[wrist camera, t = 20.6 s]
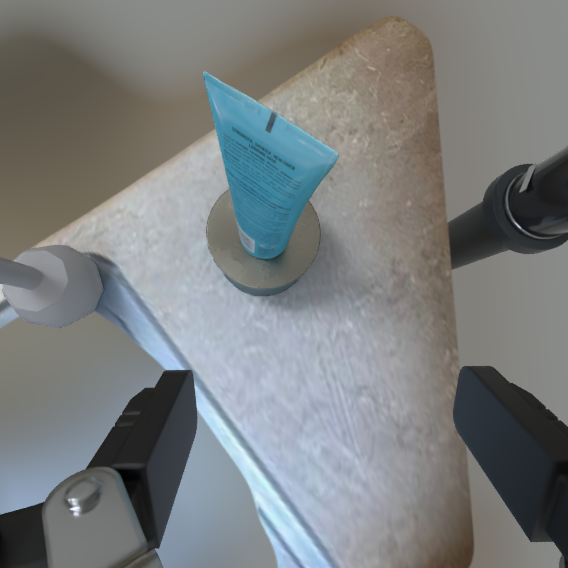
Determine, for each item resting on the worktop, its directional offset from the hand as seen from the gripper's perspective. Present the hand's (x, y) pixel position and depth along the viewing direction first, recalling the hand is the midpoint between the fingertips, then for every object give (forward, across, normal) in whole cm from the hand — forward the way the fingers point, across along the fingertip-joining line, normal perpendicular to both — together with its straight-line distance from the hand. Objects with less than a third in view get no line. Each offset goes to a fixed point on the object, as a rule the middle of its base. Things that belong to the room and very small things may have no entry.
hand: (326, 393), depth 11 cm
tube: (+26, -3, 0) cm, 26 cm away
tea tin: (+33, -4, -3) cm, 34 cm away
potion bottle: (+30, -26, -7) cm, 40 cm away
